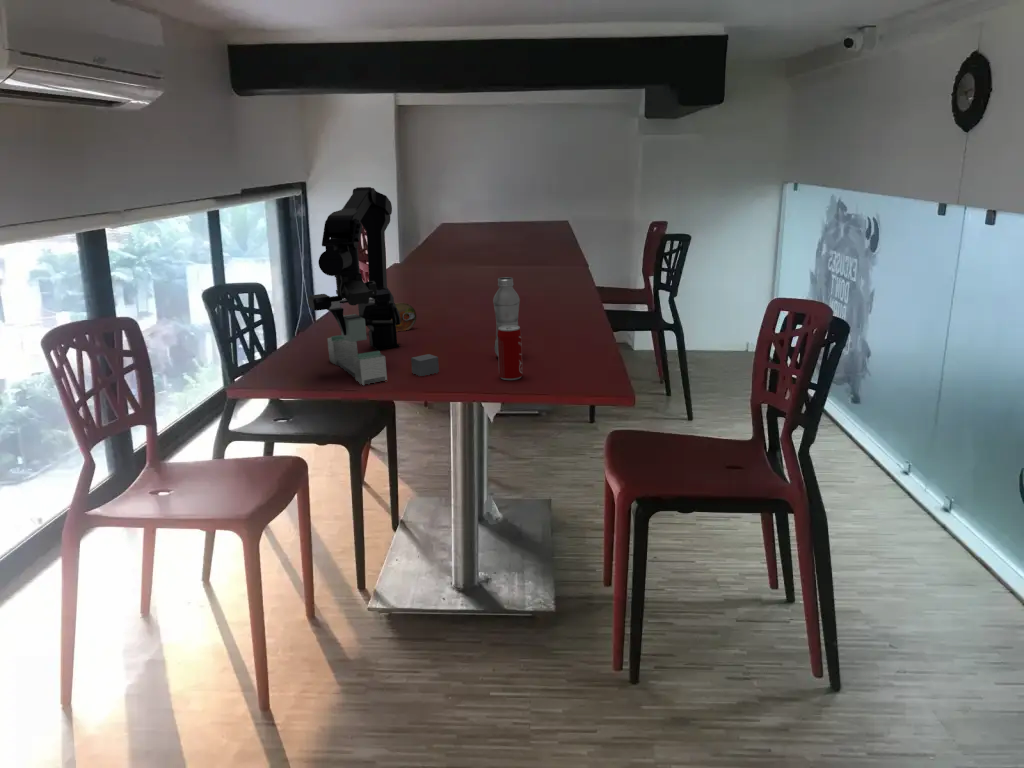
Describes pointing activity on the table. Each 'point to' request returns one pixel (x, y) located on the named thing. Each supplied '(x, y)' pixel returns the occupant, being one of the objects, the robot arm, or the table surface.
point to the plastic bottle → (505, 305)
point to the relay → (425, 365)
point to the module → (354, 328)
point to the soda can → (510, 352)
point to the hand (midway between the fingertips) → (353, 333)
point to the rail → (357, 360)
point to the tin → (405, 317)
